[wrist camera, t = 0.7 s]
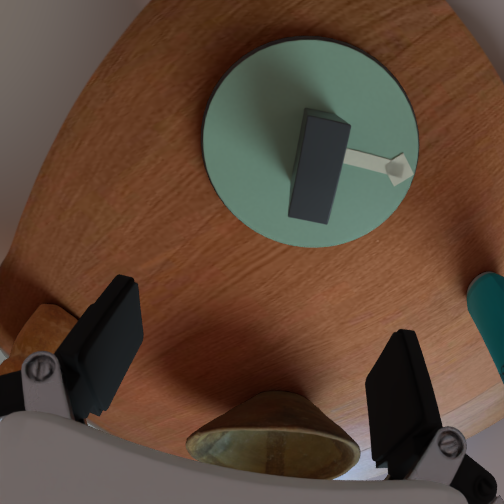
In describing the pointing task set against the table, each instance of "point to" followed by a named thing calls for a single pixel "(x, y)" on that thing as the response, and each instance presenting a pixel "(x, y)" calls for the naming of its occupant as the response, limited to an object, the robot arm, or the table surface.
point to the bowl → (276, 439)
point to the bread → (39, 335)
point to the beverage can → (489, 313)
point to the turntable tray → (273, 135)
